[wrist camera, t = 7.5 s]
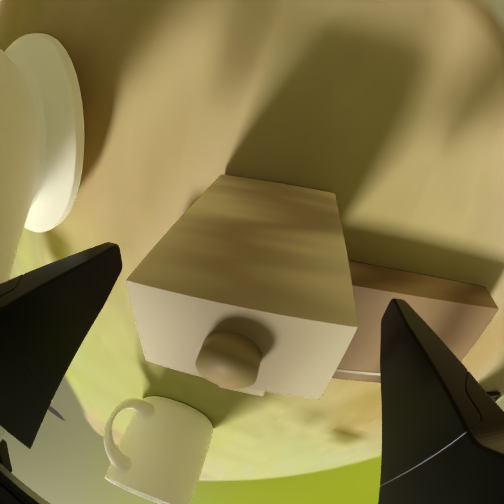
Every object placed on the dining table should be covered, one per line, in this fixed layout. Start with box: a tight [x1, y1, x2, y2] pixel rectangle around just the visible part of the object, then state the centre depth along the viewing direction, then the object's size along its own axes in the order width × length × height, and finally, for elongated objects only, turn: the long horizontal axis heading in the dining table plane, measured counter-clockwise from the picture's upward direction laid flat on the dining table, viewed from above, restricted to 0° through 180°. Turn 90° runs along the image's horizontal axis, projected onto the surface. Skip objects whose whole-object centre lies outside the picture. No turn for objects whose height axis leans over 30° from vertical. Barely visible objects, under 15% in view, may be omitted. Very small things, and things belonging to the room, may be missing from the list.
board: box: [332, 261, 498, 383], centre depth 15 cm, size 18×7×2 cm, turn 85°
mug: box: [104, 396, 213, 504], centre depth 22 cm, size 9×12×11 cm
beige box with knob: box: [126, 175, 358, 399], centre depth 11 cm, size 5×10×8 cm, turn 175°
